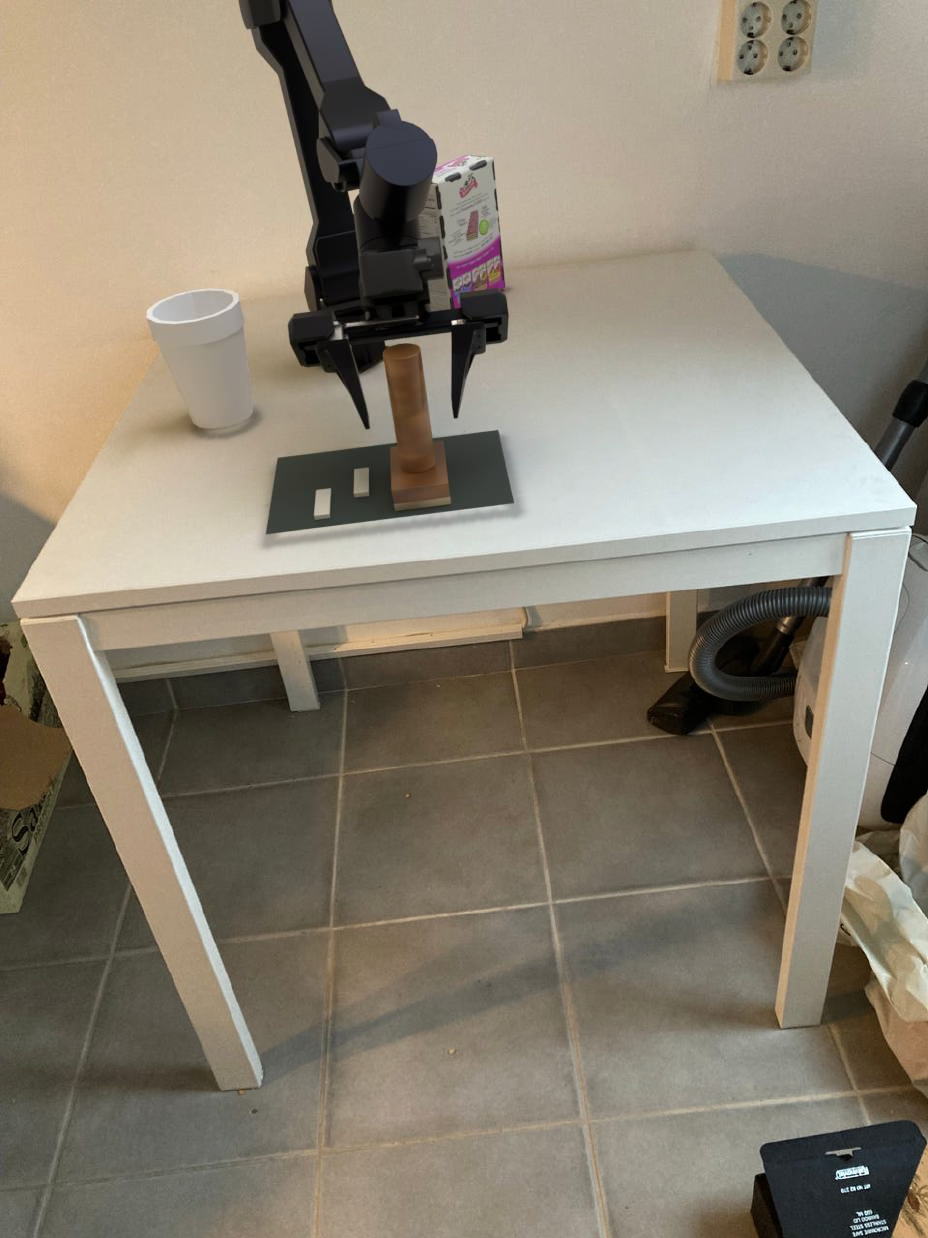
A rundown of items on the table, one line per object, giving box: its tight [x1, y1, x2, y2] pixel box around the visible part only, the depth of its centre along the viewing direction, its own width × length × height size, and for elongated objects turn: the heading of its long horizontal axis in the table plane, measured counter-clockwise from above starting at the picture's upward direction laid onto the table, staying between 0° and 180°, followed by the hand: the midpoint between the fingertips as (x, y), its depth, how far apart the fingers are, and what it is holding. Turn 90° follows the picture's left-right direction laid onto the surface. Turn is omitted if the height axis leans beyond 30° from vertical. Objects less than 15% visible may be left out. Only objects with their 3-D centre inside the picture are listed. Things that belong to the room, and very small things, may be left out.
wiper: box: [382, 342, 451, 511], centre depth 86 cm, size 5×8×13 cm, turn 4°
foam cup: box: [146, 287, 254, 430], centre depth 103 cm, size 10×9×13 cm
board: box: [265, 429, 515, 535], centre depth 92 cm, size 22×14×1 cm, turn 94°
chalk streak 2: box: [354, 468, 370, 498], centre depth 91 cm, size 1×4×1 cm, turn 4°
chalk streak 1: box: [314, 488, 332, 520], centre depth 89 cm, size 1×4×1 cm, turn 4°
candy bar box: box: [419, 154, 506, 311], centre depth 123 cm, size 11×5×16 cm, turn 141°
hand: (411, 422), depth 85 cm, fingers open, 7 cm apart
